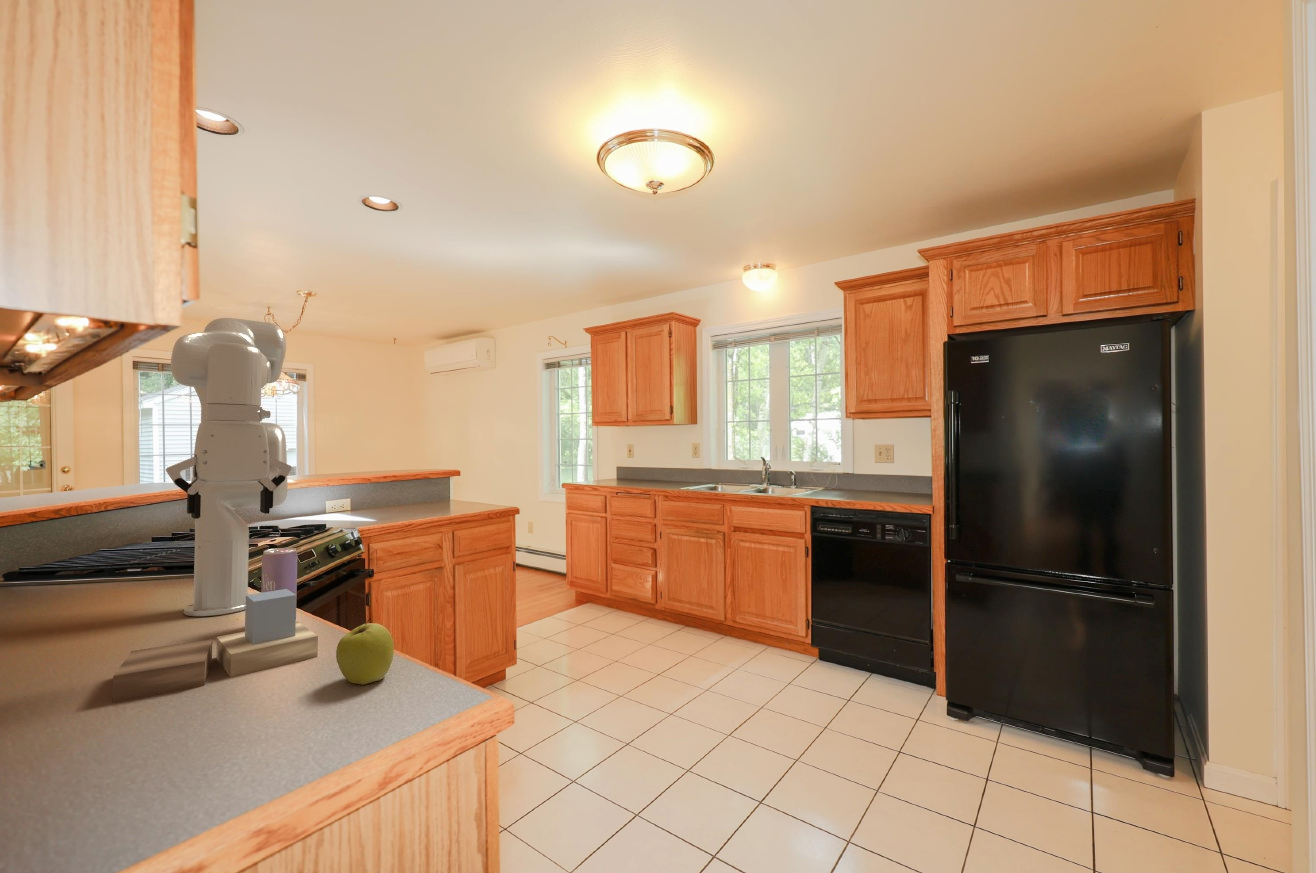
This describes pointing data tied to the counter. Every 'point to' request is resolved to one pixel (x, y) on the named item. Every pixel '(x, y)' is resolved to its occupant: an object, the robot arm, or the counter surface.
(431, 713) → the counter surface
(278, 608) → the grey block
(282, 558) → the beverage can
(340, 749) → the counter surface
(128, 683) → the walnut plinth
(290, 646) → the maple plinth
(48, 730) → the counter surface
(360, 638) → the apple
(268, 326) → the robot arm
